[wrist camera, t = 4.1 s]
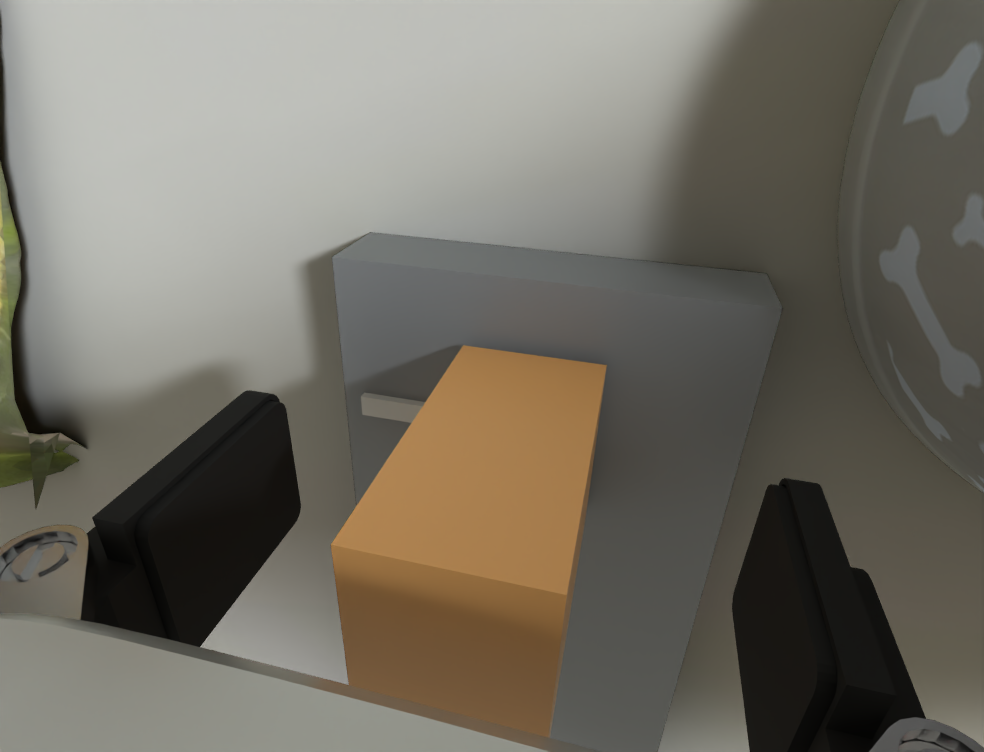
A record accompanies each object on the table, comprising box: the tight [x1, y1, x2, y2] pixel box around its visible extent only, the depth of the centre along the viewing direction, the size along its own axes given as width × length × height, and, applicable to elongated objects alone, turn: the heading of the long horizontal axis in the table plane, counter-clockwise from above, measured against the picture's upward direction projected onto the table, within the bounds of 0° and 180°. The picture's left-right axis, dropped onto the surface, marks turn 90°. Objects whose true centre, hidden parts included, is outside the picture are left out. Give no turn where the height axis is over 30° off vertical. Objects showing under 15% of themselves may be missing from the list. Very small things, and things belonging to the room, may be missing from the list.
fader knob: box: [331, 345, 607, 738], centre depth 11 cm, size 4×3×6 cm
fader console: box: [332, 232, 783, 752], centre depth 18 cm, size 23×9×2 cm, turn 178°
